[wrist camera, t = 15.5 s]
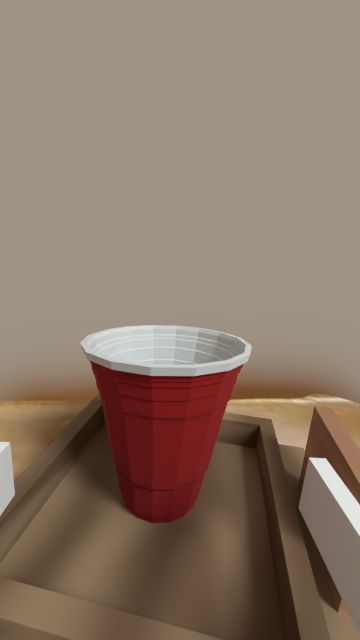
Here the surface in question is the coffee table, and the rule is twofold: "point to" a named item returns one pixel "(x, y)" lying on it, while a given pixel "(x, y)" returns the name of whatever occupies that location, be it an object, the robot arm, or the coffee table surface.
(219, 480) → the cup dock
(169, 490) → the plastic cup
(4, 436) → the coffee table surface
